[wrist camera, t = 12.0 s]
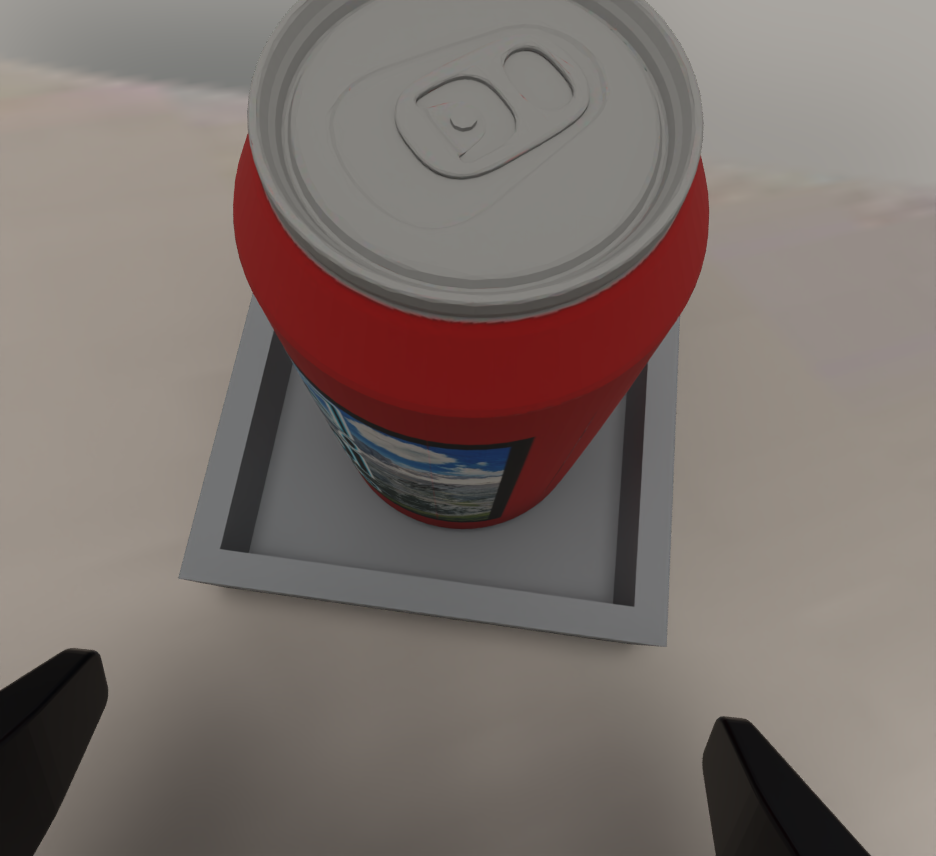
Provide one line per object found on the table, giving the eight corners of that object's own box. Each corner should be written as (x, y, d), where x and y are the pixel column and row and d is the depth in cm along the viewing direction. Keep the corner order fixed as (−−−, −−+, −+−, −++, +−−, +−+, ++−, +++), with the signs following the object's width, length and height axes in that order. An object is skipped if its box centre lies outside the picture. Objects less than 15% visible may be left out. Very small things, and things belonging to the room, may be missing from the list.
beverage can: (303, 389, 19) (82, 32, 8) (491, 277, 20) (540, -172, 9) (428, 584, 18) (385, 495, 6) (624, 449, 19) (889, 169, 7)
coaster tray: (632, 644, 18) (666, 646, 15) (221, 586, 18) (178, 578, 15) (652, 277, 22) (683, 223, 19) (306, 232, 22) (284, 172, 19)
